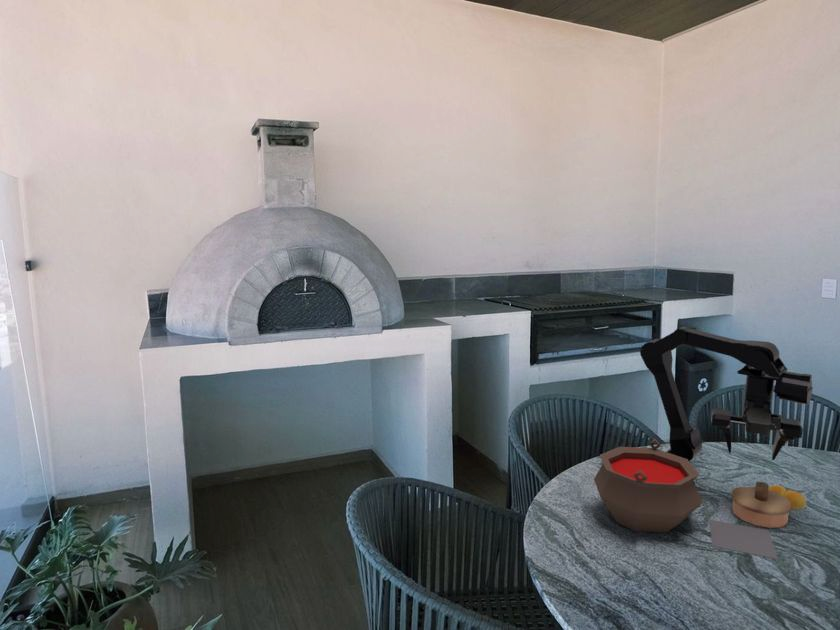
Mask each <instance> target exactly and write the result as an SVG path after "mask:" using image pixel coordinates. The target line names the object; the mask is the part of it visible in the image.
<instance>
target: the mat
mask: <svg viewBox="0 0 840 630" xmlns="http://www.w3.org/2000/svg"><path fill="white" fill-rule="evenodd" d="M708 521H709V528H710V530H709V531H710V537H711V544H712V547H714V548H719V549H724V550H729V551H733V552H738V553H739V552H740V553H744V554H750V555H754V556H758V557H759V556H761V557H764V558H765V557H766V558H770V559H773V560H774V559H777V560H778V555H777V552H776V549H775V546H774V543H773V540H772V537H771V533H770V530H769V529H763V528H758V527H753V526H748V525H747V526H746V525H741V524H736V523H731V522H725V521H719V520H714V519H709V520H708Z"/></svg>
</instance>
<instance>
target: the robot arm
mask: <svg viewBox="0 0 840 630" xmlns="http://www.w3.org/2000/svg"><path fill="white" fill-rule="evenodd" d="M682 345H686V346H691V347H694V348H697V349H702V350H705V351H710V352H713V353H716V354H721V355H725V356H728V357H731V358H733V359H735V360H738V361H739V362H740V363H742V364H744V365H743V367H741V368H740V369H738V370H736V371H737V372H736V374H738V375H744V376H746V378H745V386H744V387H745V388H744V396H743V403H742V404H743V405H742V414H741V415H734V414H731V411H730V410H728V409H721V408H713V409H712V410H711V415H710V419H711V421H710V422H711V425H712V426H715V427H716V429H718V430H721V432H722V433H723V435H724V438H725V442H726V446H727V451H728V453H729V454H731V453H732V434H731V433H732V428H731V424H736V425H741V426H742V425H743V426H745V431H746V432H747V433H749V434H760V435H762V436H769V435H770V432H771V431H776V434H775V438H774V443H773V447H772V452H771V460H772V461H774V460H775V459H777V458H776V457H777V456H778V454H779V453H780V451H781V449H782V448H783V447H784V445H785V444H786V443H788V442H789V441H794V440H795V438H796V439H801V438H802V437H803V426H802V424H801V422H800V421H799V420H798V419H794V418H786V417H782V415H781V414H775V413H772V411H771V409H772V400H773V393H774V394H775V395H776V397H778V399H779V400H782V401H787V402H792V403H796V404H803V405H807V406H808V405H809V404H810V402H811V399H812V394H813V388H814V387H813V380H812V376H813V375H812V374H811V373H798V372H793V371H792V372H791V371H788V370H789V369H788V368H787V367H786V365H785V364H784V361H782V359H781V358H780V351H779V349H778V347H777V346H776V344H774V343H772V342H770V341H762V340H740V339H734V338H730V337H726V336H722V335H718V334H715V333H714V334H713V333H710V332H706V331H701V330H697V329H695V328H694V329H693V328H690V327H689V326H682V327H679V328H676V329H675V330H674V331H673V332H671V333H669V334H668V335H666V336H664V337H662V338H656V339H652V340H650V341H647V342H645V343H644V344H643V345H642V346H641V348H640V351H639V353H640V356H641V359H642V361H643V363H644V365H645V367H646V368H647V370H649V372H650V373H651V374H652V376H653V377H654V380H655V383H656V386H657V389H658V393H659V397H660V400H661V403H662V406H663V410H664V413H665V416H666V418H667V422H668V424H669V440H668V441H669V446H670V447H669V449H668V450H667V451H666V452H667V453H670V454H673V455H676V456H679V457H682V458H685V459H688V460H689V462H690V463H691V461H692V460H693V459H694V458H695V457H696V456H698V455H699V454H700V453H701V451H702V449H703V443H704V440H703V439H702V437H701V433H700V432H701V431H700V428H699V427H695V428H694V427H692V425H691V424H690V423H689V421H688V419H687V415H686V411H685V409H684V406H683V405H684V404H683V402H682V399H681V395H680V393H679V390H678V387H677V383H676V380H675V377H674V374H673V370H672V369H673V354H672V351H673V350H675V349H677V348H679V347H681V346H682Z"/></svg>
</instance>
